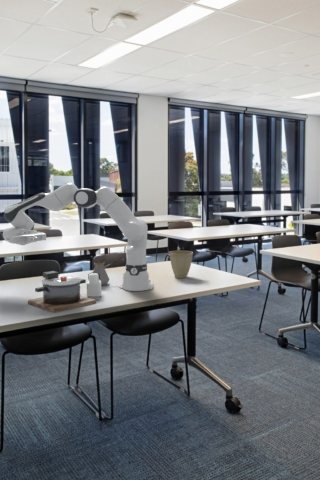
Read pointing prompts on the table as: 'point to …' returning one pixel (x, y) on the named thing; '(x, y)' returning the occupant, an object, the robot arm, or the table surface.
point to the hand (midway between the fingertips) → (35, 239)
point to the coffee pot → (103, 271)
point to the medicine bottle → (93, 285)
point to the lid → (59, 279)
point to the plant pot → (181, 262)
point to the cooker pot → (61, 293)
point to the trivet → (58, 308)
